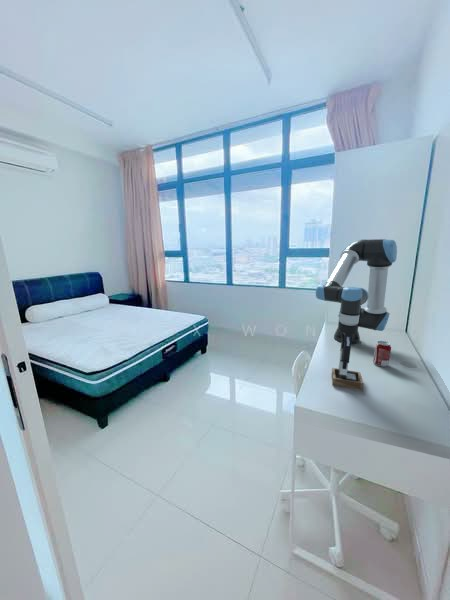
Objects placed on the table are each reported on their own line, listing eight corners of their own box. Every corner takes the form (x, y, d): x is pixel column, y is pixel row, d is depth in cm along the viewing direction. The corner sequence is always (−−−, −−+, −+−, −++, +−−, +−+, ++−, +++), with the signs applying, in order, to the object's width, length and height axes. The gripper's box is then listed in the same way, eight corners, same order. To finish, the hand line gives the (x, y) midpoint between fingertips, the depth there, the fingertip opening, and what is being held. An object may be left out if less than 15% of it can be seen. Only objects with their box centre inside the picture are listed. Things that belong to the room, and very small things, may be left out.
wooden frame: (331, 374, 119) (332, 367, 118) (359, 379, 115) (360, 372, 114) (332, 385, 110) (333, 378, 109) (362, 390, 106) (363, 383, 105)
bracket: (338, 380, 111) (341, 352, 108) (337, 375, 115) (341, 347, 112) (355, 383, 108) (359, 354, 105) (354, 378, 113) (358, 350, 110)
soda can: (390, 368, 124) (394, 346, 122) (375, 366, 126) (379, 345, 123) (384, 361, 131) (388, 340, 128) (371, 360, 132) (374, 340, 129)
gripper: (337, 316, 116) (332, 361, 121) (340, 328, 99) (334, 380, 105) (355, 317, 113) (349, 363, 119) (361, 330, 97) (354, 383, 102)
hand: (342, 371), depth 112 cm, fingers closed on bracket, 5 cm apart
